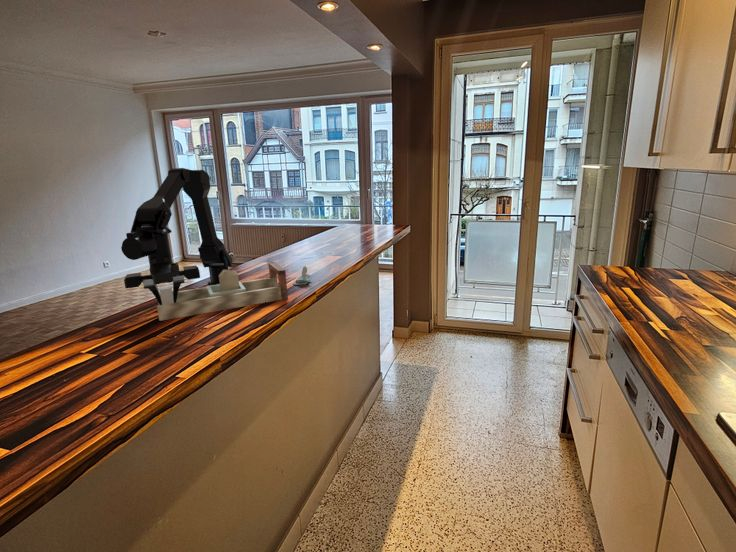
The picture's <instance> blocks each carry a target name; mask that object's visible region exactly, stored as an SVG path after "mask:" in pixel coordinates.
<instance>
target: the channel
mask: <svg viewBox="0 0 736 552" xmlns="http://www.w3.org/2000/svg"><path fill="white" fill-rule="evenodd" d="M268 271H269V277H266V278H265V277H264V278H257V279H250V280H246V281H245V280H243V281H240V282H241V283H242V285H243V286H244V287H245V289H246V292H240V293H234V294H227V295H221V296H215V297H209V298H208V294H207V287H206V286H205V287H204V286H203V287H198V288H191V289H185V290H178V295H177V300H176V303H171V304H165V305H160V304H159V303H158V305H156V310H157V314H158V320H159V321H160V322H161V321H166V320H167V321H168V320H173V319H178V318H185V317H189V316H196V315H202V314H207V313H213V312H220V311H224V310H231V309H235V308H237V309H238V308H241V307H247V306H253V305H259V303H260V304H266V303H270V302H275V301H283V300H287V299H289V297H288V296H289V295H288V283H287V275H286V274H287V273H286V269H284V268H283V267H282V266H280V265H279V264H278V263H277V262H274V261H271V262H268ZM277 276H278V277H277ZM172 293H173V291H172ZM160 296H161V295H160ZM265 302H266V303H265Z"/></svg>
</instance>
